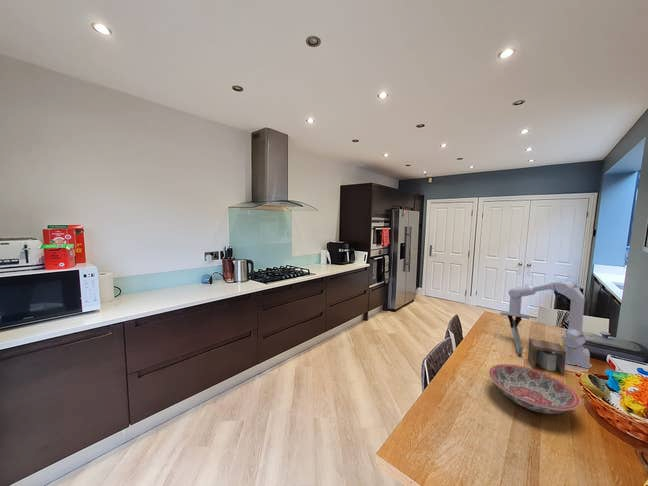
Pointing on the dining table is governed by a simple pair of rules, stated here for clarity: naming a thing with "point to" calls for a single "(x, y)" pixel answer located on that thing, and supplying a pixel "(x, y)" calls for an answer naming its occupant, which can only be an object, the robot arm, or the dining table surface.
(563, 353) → the low cabinet
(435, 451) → the dining table surface
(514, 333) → the steel block
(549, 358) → the medicine box
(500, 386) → the ceramic bowl
